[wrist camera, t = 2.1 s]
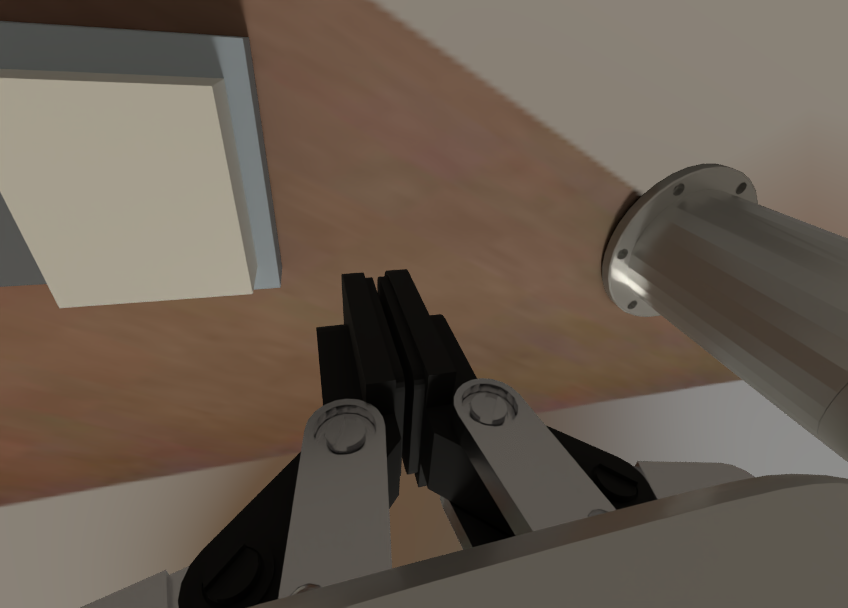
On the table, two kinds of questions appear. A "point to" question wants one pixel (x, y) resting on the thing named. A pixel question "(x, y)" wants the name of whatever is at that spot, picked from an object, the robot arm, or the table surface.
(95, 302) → the tile
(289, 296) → the table surface
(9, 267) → the mat
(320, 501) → the robot arm
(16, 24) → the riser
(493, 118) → the table surface
